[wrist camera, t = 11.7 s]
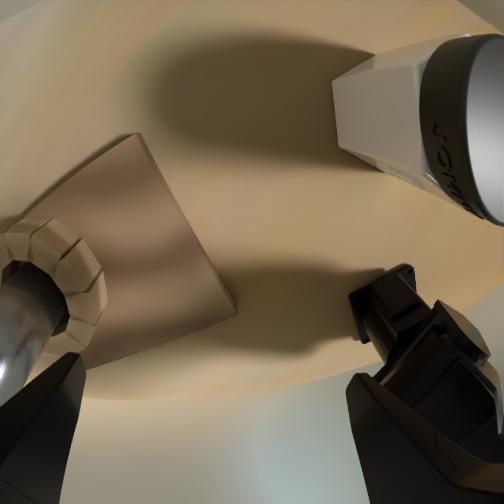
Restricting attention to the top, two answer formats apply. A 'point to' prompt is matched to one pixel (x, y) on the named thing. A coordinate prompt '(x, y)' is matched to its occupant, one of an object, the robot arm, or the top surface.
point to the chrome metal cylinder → (26, 324)
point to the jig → (118, 259)
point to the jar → (432, 118)
